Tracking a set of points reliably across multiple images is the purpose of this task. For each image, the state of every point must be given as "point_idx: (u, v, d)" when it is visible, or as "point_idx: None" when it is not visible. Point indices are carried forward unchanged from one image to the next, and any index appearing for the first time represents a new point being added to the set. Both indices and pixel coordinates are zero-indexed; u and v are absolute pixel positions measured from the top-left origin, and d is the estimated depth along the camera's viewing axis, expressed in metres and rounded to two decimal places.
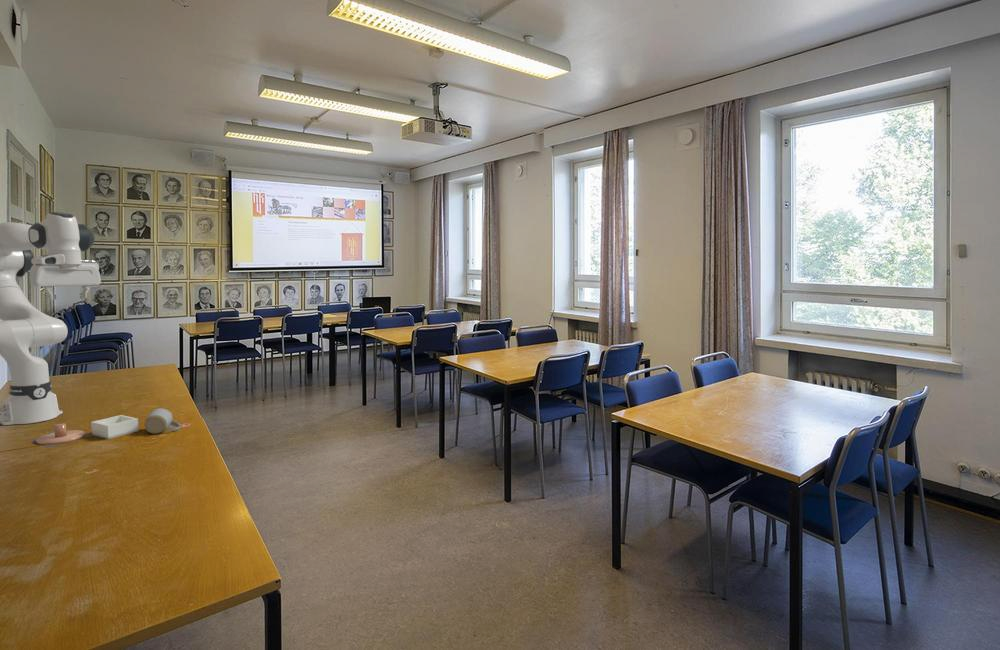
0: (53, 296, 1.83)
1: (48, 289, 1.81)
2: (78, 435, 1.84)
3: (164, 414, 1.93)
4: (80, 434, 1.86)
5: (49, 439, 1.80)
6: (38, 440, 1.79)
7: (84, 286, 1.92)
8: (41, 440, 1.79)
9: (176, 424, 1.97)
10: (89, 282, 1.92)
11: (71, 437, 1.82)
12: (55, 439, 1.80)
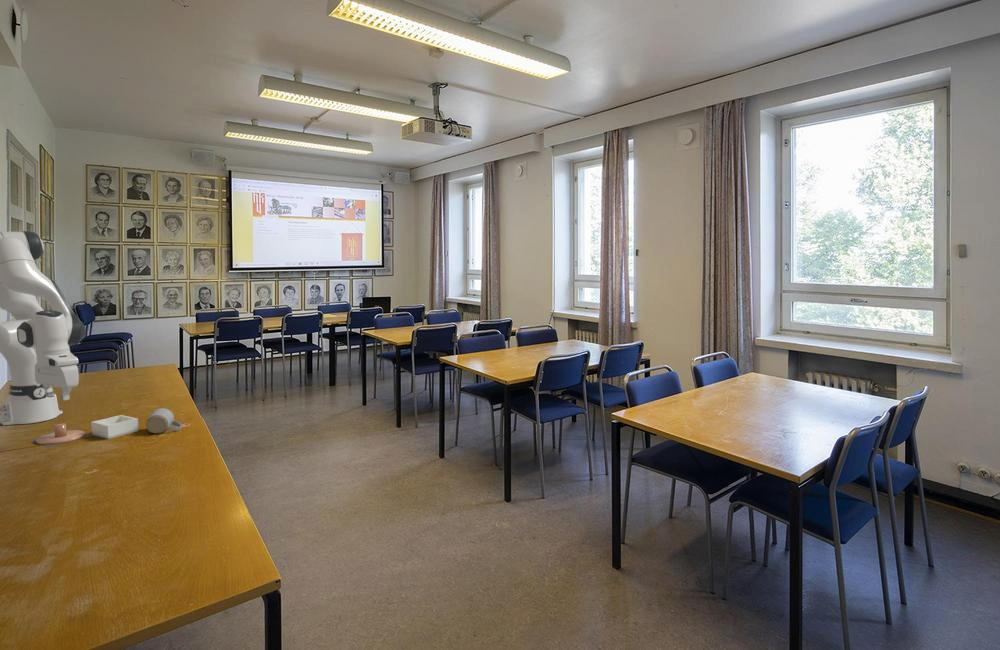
0: None
1: None
2: (78, 435, 1.84)
3: (165, 414, 1.93)
4: (80, 434, 1.86)
5: (49, 439, 1.80)
6: (38, 440, 1.79)
7: (48, 385, 1.84)
8: (41, 440, 1.79)
9: (177, 424, 1.98)
10: None
11: (71, 437, 1.82)
12: (55, 439, 1.80)
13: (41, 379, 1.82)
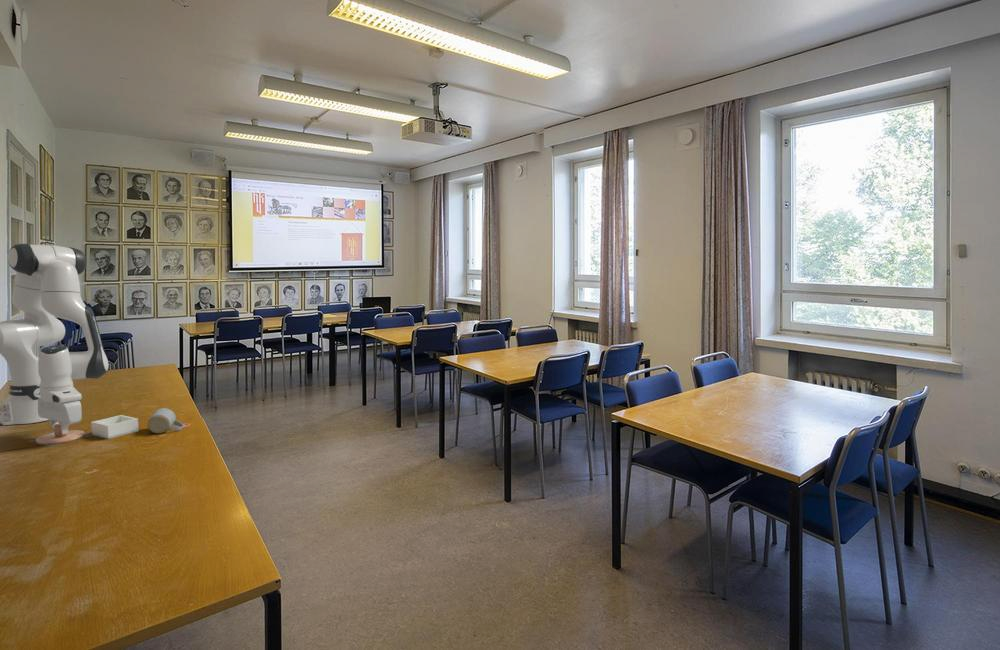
0: None
1: None
2: (78, 435, 1.84)
3: (167, 414, 1.93)
4: (80, 433, 1.86)
5: (49, 439, 1.80)
6: (38, 440, 1.79)
7: None
8: (41, 440, 1.79)
9: (179, 424, 1.98)
10: None
11: (71, 437, 1.82)
12: (55, 439, 1.80)
13: (44, 413, 1.83)
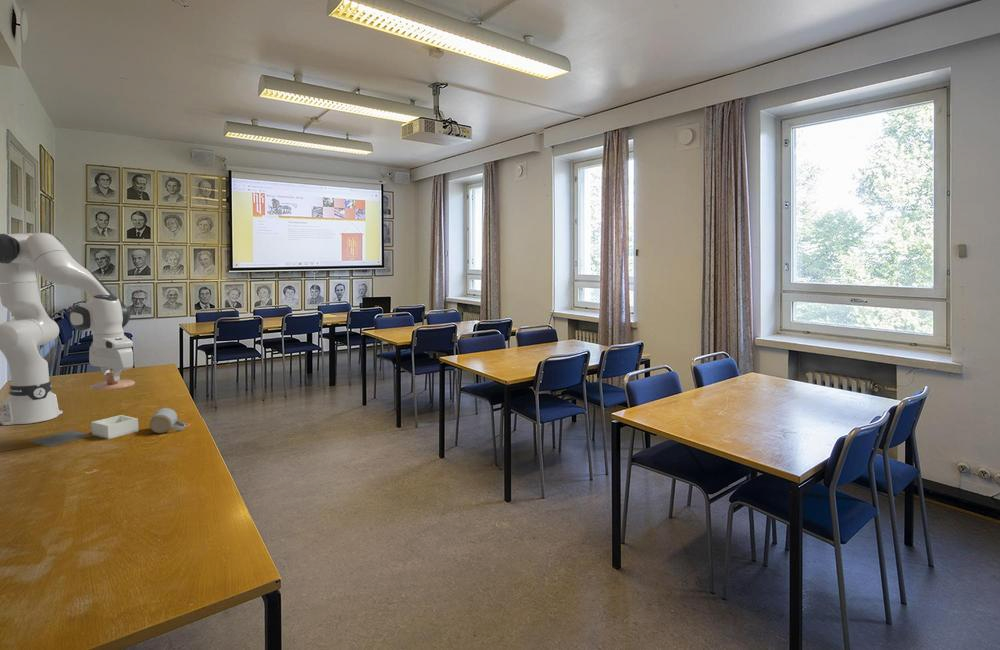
0: None
1: None
2: (129, 383, 1.89)
3: (169, 414, 1.94)
4: (131, 382, 1.91)
5: (102, 386, 1.84)
6: (92, 387, 1.83)
7: (106, 367, 1.89)
8: (95, 387, 1.83)
9: (181, 424, 1.98)
10: None
11: (123, 384, 1.87)
12: (108, 386, 1.85)
13: (95, 361, 1.88)
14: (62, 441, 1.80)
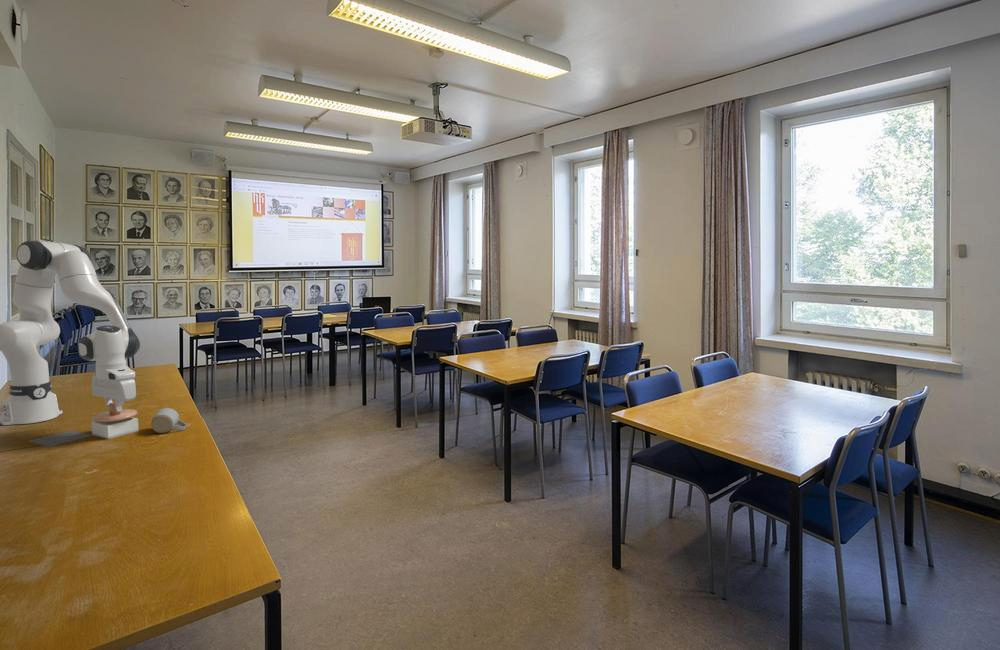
0: None
1: None
2: (131, 413, 1.90)
3: (170, 413, 1.94)
4: (133, 412, 1.92)
5: (105, 417, 1.86)
6: (94, 418, 1.85)
7: (109, 397, 1.90)
8: (97, 418, 1.85)
9: (182, 424, 1.98)
10: None
11: (125, 415, 1.88)
12: (111, 417, 1.86)
13: (98, 391, 1.89)
14: (62, 441, 1.80)
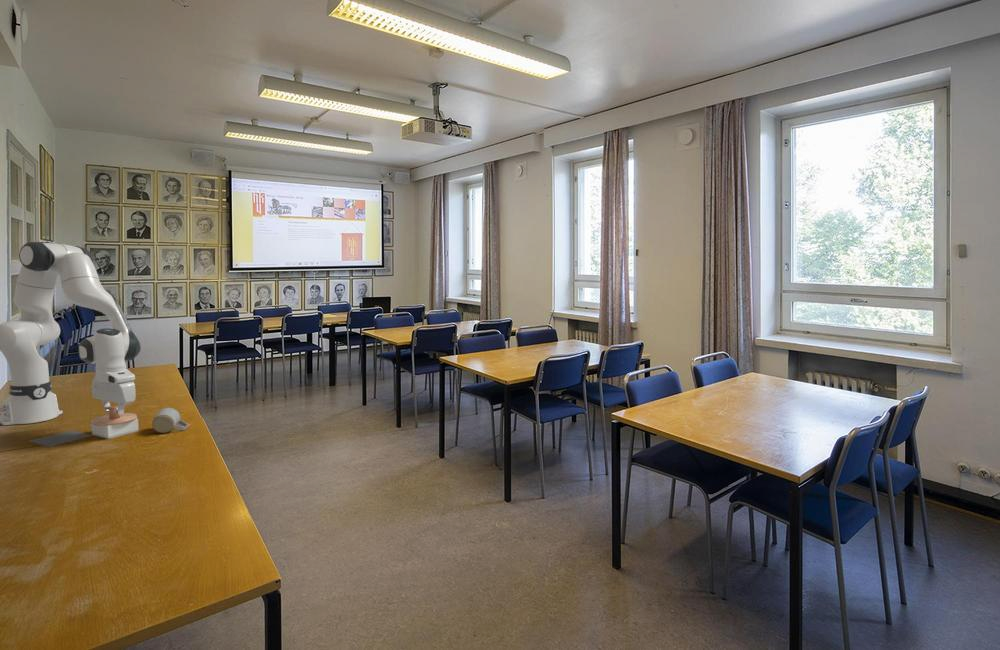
0: None
1: None
2: (131, 417, 1.90)
3: (172, 413, 1.94)
4: (133, 416, 1.92)
5: (104, 421, 1.86)
6: (94, 421, 1.85)
7: None
8: (97, 421, 1.85)
9: (183, 423, 1.98)
10: None
11: (125, 419, 1.88)
12: (110, 421, 1.86)
13: (98, 394, 1.89)
14: (62, 441, 1.80)
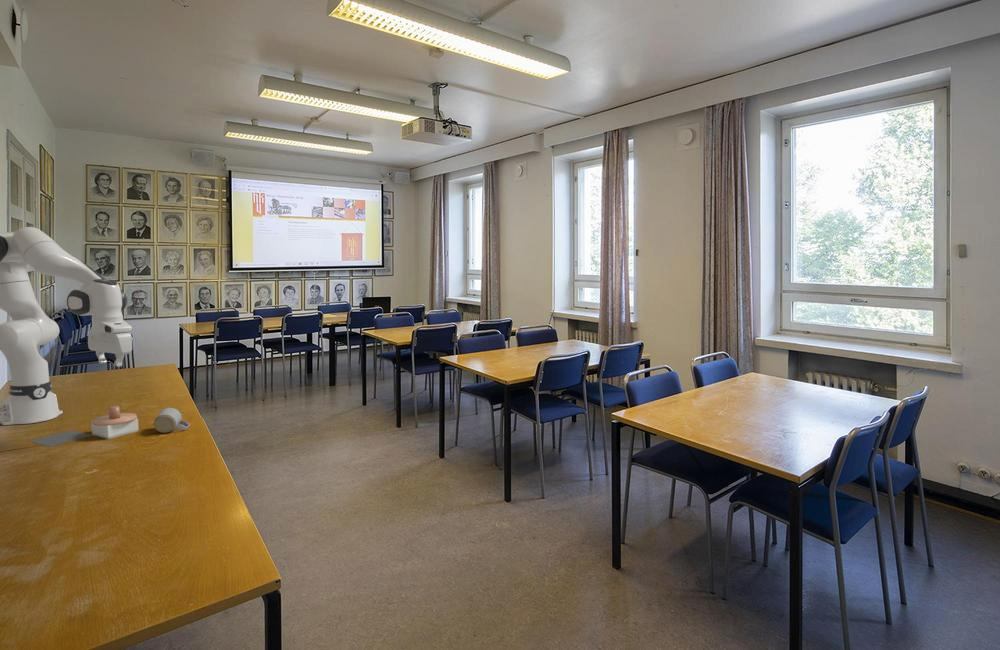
0: None
1: None
2: (131, 417, 1.90)
3: (173, 413, 1.94)
4: (133, 416, 1.92)
5: (104, 421, 1.86)
6: (94, 421, 1.85)
7: (101, 351, 1.89)
8: (97, 421, 1.85)
9: (185, 423, 1.98)
10: None
11: (125, 419, 1.88)
12: (110, 421, 1.86)
13: (94, 346, 1.88)
14: (62, 441, 1.80)
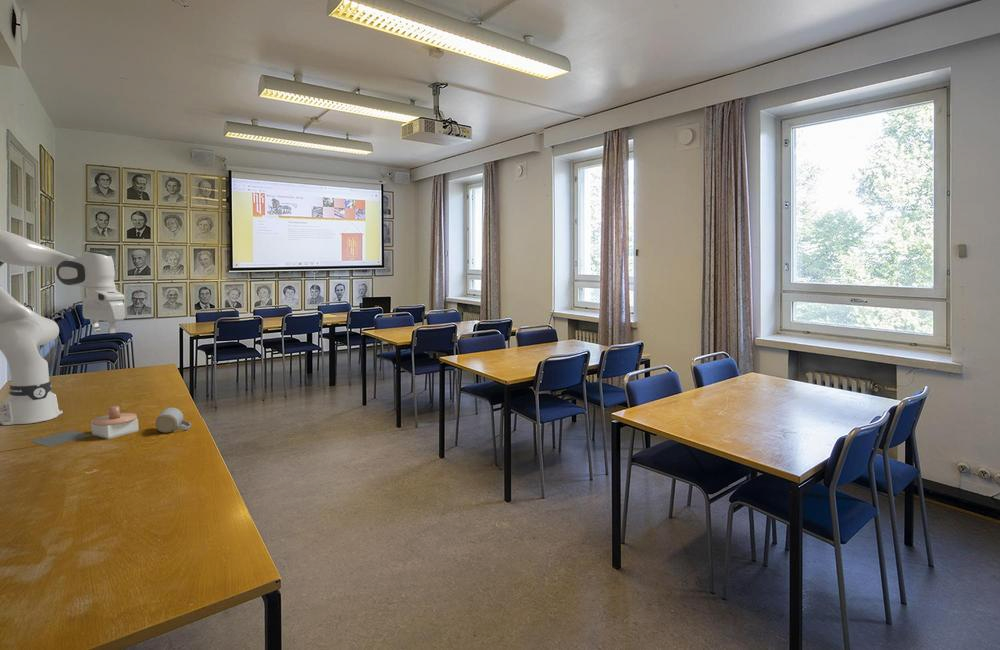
0: None
1: None
2: (131, 417, 1.90)
3: (175, 413, 1.94)
4: (133, 416, 1.92)
5: (104, 421, 1.86)
6: (94, 421, 1.85)
7: (95, 320, 1.99)
8: (97, 421, 1.85)
9: (187, 423, 1.99)
10: None
11: (125, 419, 1.88)
12: (110, 421, 1.86)
13: (88, 314, 1.98)
14: (62, 441, 1.80)
